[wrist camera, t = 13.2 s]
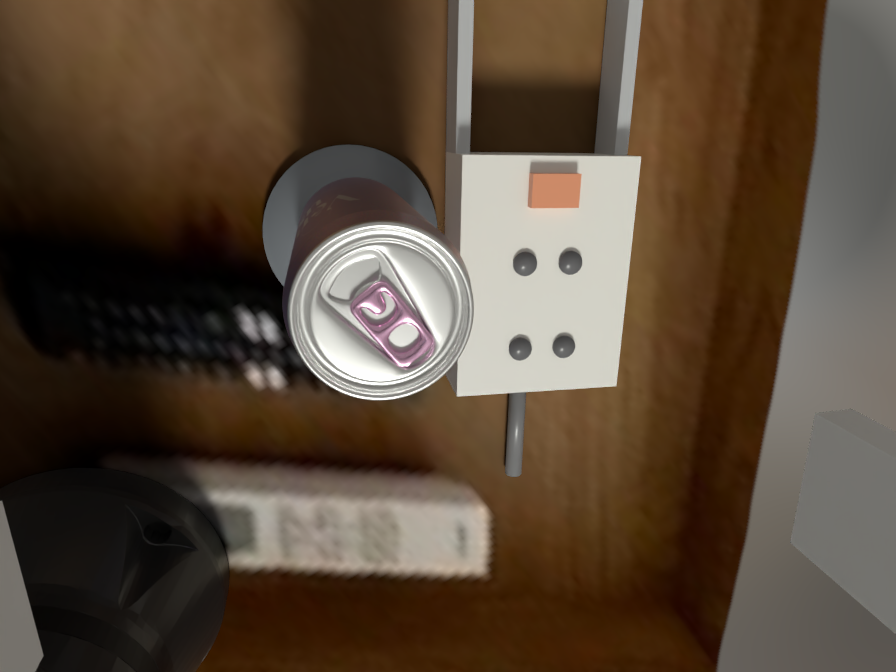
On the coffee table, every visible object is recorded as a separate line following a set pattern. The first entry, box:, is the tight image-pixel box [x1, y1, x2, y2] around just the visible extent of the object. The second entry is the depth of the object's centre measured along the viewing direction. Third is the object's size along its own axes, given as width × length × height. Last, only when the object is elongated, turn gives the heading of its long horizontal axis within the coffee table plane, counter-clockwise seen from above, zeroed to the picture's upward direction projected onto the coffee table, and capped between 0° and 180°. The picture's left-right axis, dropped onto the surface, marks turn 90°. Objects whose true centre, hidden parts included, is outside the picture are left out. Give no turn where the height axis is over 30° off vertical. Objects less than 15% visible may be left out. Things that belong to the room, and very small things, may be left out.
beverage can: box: [282, 177, 474, 400], centre depth 26 cm, size 6×6×15 cm
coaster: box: [263, 144, 437, 286], centre depth 33 cm, size 9×9×1 cm
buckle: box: [445, 0, 643, 477], centre depth 33 cm, size 28×9×5 cm, turn 179°
